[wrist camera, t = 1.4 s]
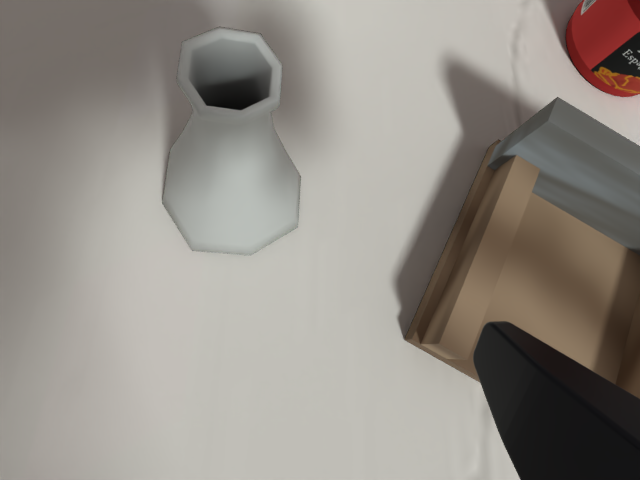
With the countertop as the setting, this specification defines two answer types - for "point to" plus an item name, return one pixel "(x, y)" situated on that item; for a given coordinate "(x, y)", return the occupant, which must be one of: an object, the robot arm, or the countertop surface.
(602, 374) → the stand
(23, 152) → the countertop surface
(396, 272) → the countertop surface
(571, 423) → the robot arm
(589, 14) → the canned food
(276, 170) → the flask
